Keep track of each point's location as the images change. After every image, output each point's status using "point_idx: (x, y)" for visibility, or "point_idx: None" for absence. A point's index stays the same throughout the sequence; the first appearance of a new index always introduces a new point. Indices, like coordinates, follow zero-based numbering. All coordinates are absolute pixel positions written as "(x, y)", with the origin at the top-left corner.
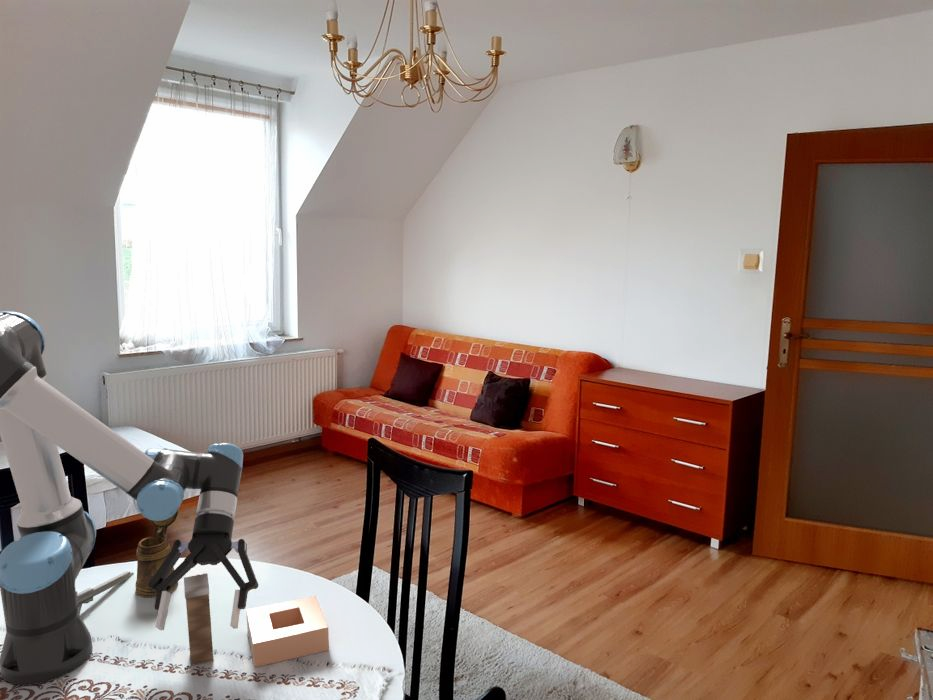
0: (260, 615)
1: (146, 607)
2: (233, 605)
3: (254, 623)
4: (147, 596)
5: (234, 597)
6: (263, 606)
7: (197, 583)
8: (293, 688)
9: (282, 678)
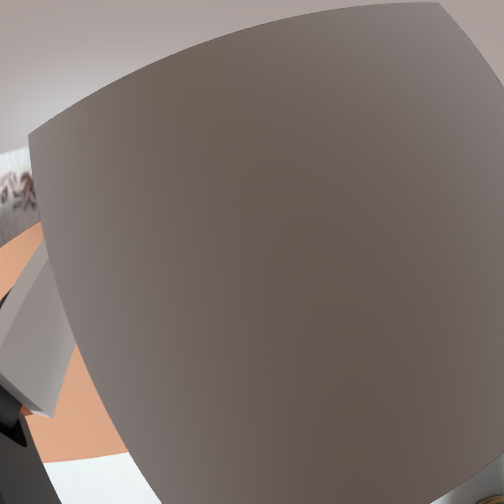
0: (74, 401)
1: (486, 471)
2: (37, 275)
3: (74, 348)
4: (488, 499)
5: (15, 317)
6: (88, 456)
7: (289, 131)
8: (16, 161)
9: (34, 191)
